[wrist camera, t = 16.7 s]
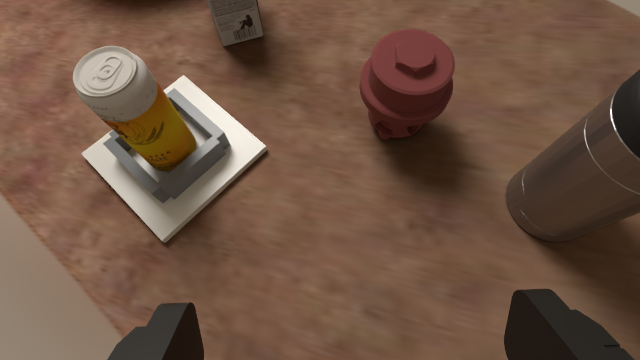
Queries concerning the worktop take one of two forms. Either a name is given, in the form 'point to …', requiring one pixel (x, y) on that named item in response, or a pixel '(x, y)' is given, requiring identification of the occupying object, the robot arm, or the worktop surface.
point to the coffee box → (236, 20)
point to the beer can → (134, 106)
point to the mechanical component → (406, 82)
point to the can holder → (189, 176)
